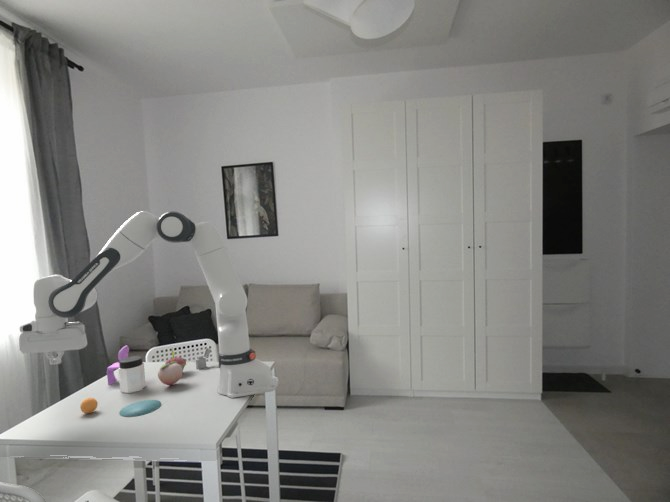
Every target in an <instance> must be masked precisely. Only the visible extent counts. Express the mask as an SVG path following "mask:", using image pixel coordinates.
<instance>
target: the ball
mask: <svg viewBox="0 0 670 502" xmlns="http://www.w3.org/2000/svg"><path fill="white" fill-rule="evenodd" d="M98 405H99V404H98V401H97V399H95V398H94V397H87V398H85V399H83V400H82V401H81V404H80V407H79V408H80V410H81V412H82V413H84V414H91V413H94V411H95V410H96V409H97V408H98Z"/></svg>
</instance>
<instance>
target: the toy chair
mask: <svg viewBox="0 0 670 502" xmlns="http://www.w3.org/2000/svg"><path fill="white" fill-rule="evenodd" d="M129 352H130V347H129V346H128V345H125V346H123V347H121V349H119V351H118V353H117V357H118V358H117V359H118V360H119V361H120V360H121V359H123V358H127V357H129ZM119 361H117V362H114V363H112V365H109V366H108V367H106V377H107V386H110V385H112V384H113V383H115V382H116V381H117V378H116V376H115V370H119V369H118V368H120V366H119Z"/></svg>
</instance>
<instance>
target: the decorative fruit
mask: <svg viewBox="0 0 670 502" xmlns="http://www.w3.org/2000/svg"><path fill="white" fill-rule="evenodd" d="M177 363H178V364H177ZM183 374H184V369H182V367H181V366H180V365H179V362H175V361H174V362H171V363H170V361H169V364H163V365H161V367H160V368H159V371H158V372H157V378H158V379H159V381H160V382H161V383H162V384H163V385H167V386H170V387H172V386H173V385H174V384H175V383H177V382H179V381H180V380H181V378H182V376H183Z"/></svg>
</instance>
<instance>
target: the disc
mask: <svg viewBox="0 0 670 502" xmlns="http://www.w3.org/2000/svg"><path fill="white" fill-rule="evenodd" d="M161 406H162V402H161V401H160V400H158V399H146V400H145V399H144V400H140V401H135V402H132V403H129V404H128V405H125V406H124V407H122V408H121V409H120V410H119V411H118V412H119V413H118V414H119V415H120V416H122V417H125V418H131V417H139V416H144V415H147V414H149V413H151V412H155V411H156V410H158V409H159V408H160V407H161Z"/></svg>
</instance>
